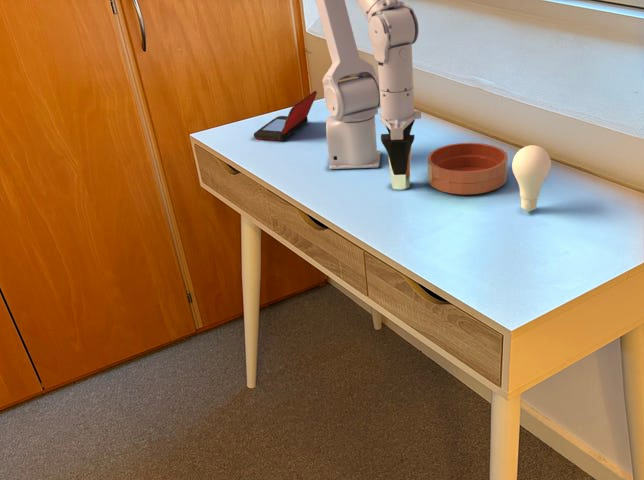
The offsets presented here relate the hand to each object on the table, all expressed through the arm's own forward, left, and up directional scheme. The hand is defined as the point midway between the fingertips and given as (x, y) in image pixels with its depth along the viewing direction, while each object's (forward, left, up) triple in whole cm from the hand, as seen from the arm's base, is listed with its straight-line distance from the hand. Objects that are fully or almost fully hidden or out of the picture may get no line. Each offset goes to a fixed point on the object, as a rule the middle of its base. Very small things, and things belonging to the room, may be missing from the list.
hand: (400, 165), depth 128 cm
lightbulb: (+21, -12, -4) cm, 25 cm away
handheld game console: (-26, +32, -4) cm, 41 cm away
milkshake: (0, 0, -4) cm, 4 cm away
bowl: (+12, +1, -4) cm, 13 cm away
